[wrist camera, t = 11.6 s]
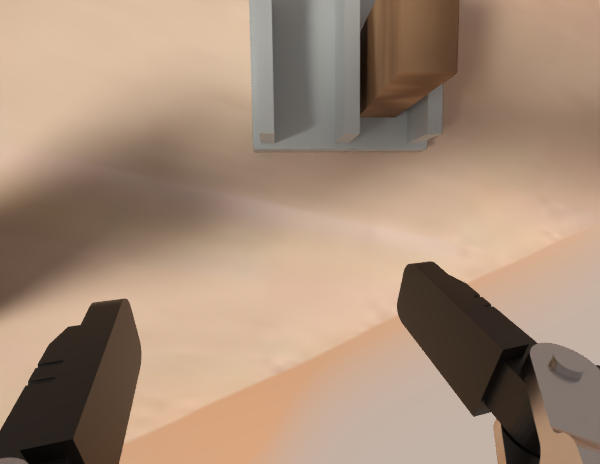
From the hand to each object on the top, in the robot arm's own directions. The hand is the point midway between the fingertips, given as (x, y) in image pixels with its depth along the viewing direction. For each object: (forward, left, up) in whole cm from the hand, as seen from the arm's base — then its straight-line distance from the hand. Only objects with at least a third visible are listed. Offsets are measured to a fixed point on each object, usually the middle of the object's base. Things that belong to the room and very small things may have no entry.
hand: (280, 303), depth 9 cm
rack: (+6, +14, -22) cm, 27 cm away
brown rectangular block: (+9, +14, -20) cm, 26 cm away
